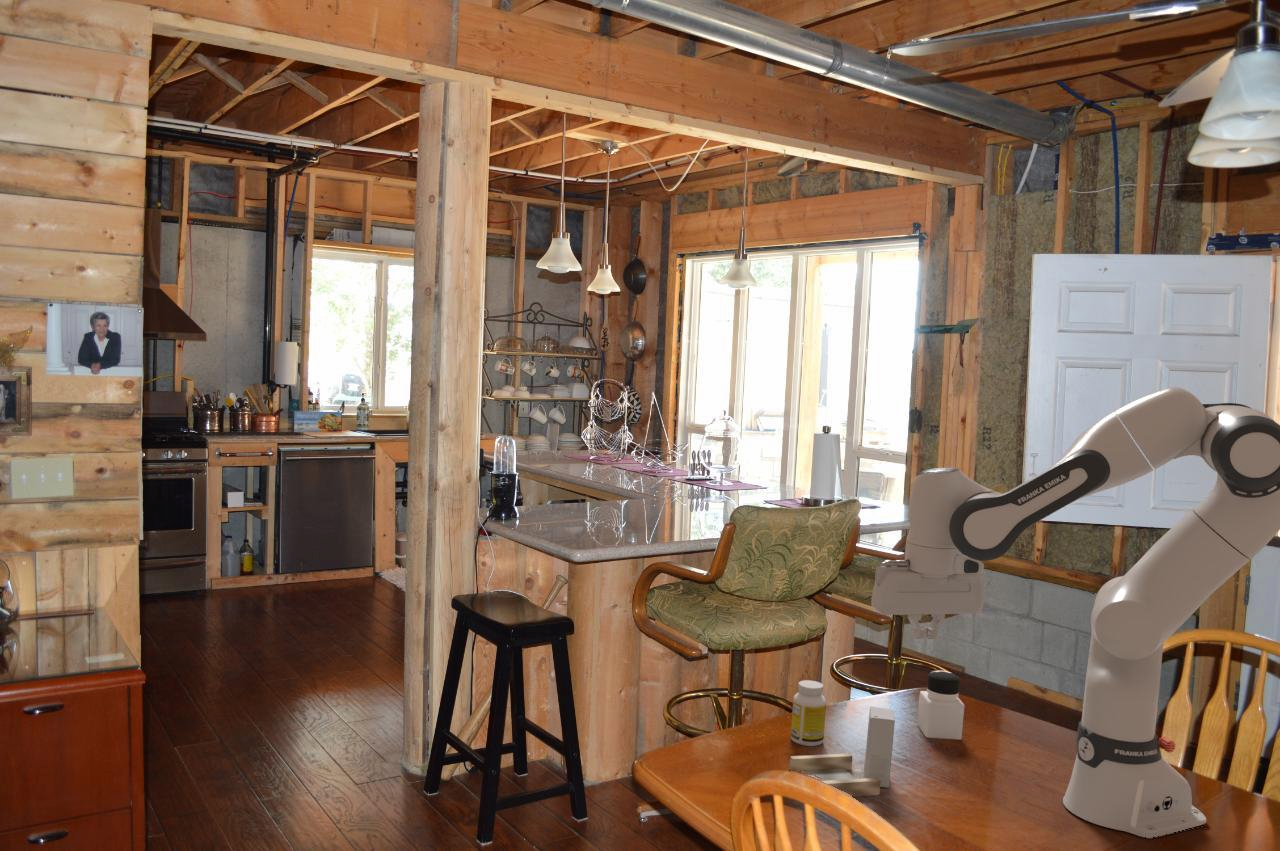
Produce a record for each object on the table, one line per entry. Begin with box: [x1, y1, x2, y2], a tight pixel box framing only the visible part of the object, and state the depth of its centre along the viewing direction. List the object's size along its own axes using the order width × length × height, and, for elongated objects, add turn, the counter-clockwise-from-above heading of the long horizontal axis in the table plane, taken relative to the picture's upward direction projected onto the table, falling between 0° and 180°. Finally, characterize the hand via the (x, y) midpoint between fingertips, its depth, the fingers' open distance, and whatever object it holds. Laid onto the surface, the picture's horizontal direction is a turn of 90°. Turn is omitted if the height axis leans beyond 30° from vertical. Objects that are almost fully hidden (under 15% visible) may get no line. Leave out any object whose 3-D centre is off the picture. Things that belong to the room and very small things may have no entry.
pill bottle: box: [790, 679, 827, 747], centre depth 194 cm, size 6×6×11 cm
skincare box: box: [863, 706, 896, 789], centre depth 178 cm, size 6×4×12 cm
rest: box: [788, 752, 881, 798], centre depth 176 cm, size 12×11×2 cm
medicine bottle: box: [916, 670, 966, 741], centre depth 203 cm, size 7×7×12 cm
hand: (924, 638), depth 178 cm, fingers closed
